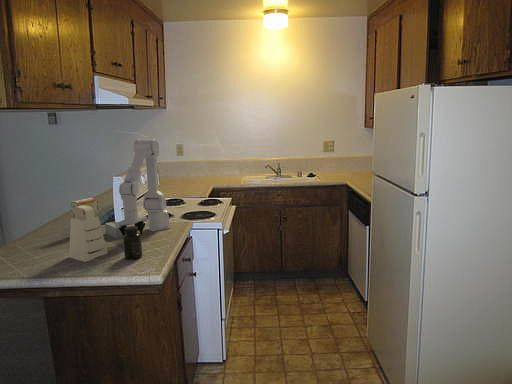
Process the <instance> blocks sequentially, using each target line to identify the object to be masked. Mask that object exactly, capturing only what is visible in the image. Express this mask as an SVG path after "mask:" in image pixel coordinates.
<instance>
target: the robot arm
mask: <svg viewBox="0 0 512 384" xmlns="http://www.w3.org/2000/svg"><path fill="white" fill-rule="evenodd" d="M132 146H133V152H134V155H133V159H132V164H131V166H130V167H129V168H128V169H127V172H126V175H125V178H124V180H123V182H122V183H120V184H119V187H118V189H119V190H118V192H119V195H120V198H121V201H122V205H123V206H122V207H123V209H122V210H123V216H124V217H123V218H124V219H123V220H121V221H117V222H118V223H115V228H118V229H119V230H120V231H121V233H122V235H123V236H124V235H125V234H126V233H125V228H126V227H128V226H131V225H133V226H137V227H138V231H140V235H141V237H143V231H144V228H145V229H146V230H149V231H151V232H157V231H161V230H167V229H170V228H171V226H170V217H169V216H170V215H169V211H168V210H167V209H166V208H167V199H166V195H165V194H164V193H163V192H162V191H160V189H159V177H158V158H157V157H158V156H160V147H159V146H160V145H159V142H158V141H157V139H155V138H149V139H148V138H146V139H145V138H144V139H139V138H136V139H134V141H133V145H132ZM144 160H145V166H146V167H145V168H146V180H147V181H146V182H147V192H146V193H145V194H143V201H142V207H143V209H144V211H146V213H147V216H139V210H138V201H137V198H138V196H137V195H138V193H139V190H140V188H139V187H140V185H139V181H140V180H141V175H142V171H141V168H142V165H143V163H144ZM146 222H147V223H148V224H147V225H148V226H147V227H146Z"/></svg>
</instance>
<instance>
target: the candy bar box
mask: <svg viewBox="0 0 512 384" xmlns="http://www.w3.org/2000/svg"><path fill="white" fill-rule="evenodd" d="M70 205H71V213H72V215H71V216H72V218H75V212H74V209H75V207H78V206H83V205H85V206H91V207H93V209H94V216H98V217H99V218H100V216H99V205H98V198H97V197H88V198H83V199H79V200H78V199H77V200H73V201H70ZM83 215H86V213H85V210H84V209H83ZM97 228H98V227H97ZM92 230H96V229H94V228H93V229H92Z"/></svg>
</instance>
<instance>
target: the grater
mask: <svg viewBox="0 0 512 384" xmlns="http://www.w3.org/2000/svg"><path fill="white" fill-rule="evenodd" d="M83 209H84V210H85V213H86V215H83ZM74 212H75V218H73V217H71V218H70V224H69V225H70V229H69V232H70V233H69V249H68V250H69V253H68V258H70V259H72V260H73V259H74V260H77V261H80V262H84V263H86V262H89V261H92V260H96V258H98V257H101V256H105V255H106V254H108V248H107V244H106V241H105V240H106V239H105V238H104V236H103V234H104V233H103V229H102V225H101V222H100V216H99V217H98V216H94V209H93V207H91V206H85V205H83V206H78V207H75V209H74ZM97 227H98V228H97ZM93 228H94V229H96V230H92V229H93ZM95 251H96V252H95ZM92 252H93V253H92Z"/></svg>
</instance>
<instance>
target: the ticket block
mask: <svg viewBox="0 0 512 384" xmlns="http://www.w3.org/2000/svg"><path fill="white" fill-rule="evenodd" d="M118 222H119V221H110V222H105V223H104V228H105V229H104V230H105V234H107V235H110V236H112V237H114V238H116V239H118V238H123V235H122V233H121V231H120V230H119V229H118V228H115V223H118Z"/></svg>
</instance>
